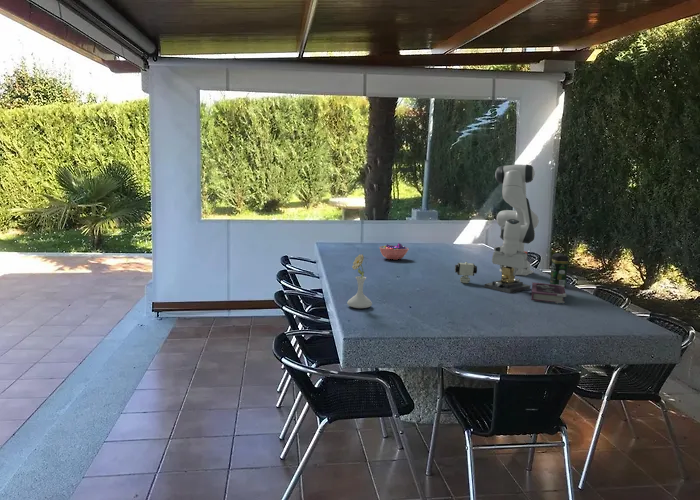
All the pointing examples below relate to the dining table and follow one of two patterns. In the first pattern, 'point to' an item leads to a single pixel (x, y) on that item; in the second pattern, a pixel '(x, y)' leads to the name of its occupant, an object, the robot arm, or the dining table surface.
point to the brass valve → (507, 274)
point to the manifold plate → (507, 286)
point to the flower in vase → (359, 287)
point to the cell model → (393, 251)
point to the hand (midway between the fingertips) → (508, 274)
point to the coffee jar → (559, 269)
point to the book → (548, 292)
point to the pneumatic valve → (465, 271)
